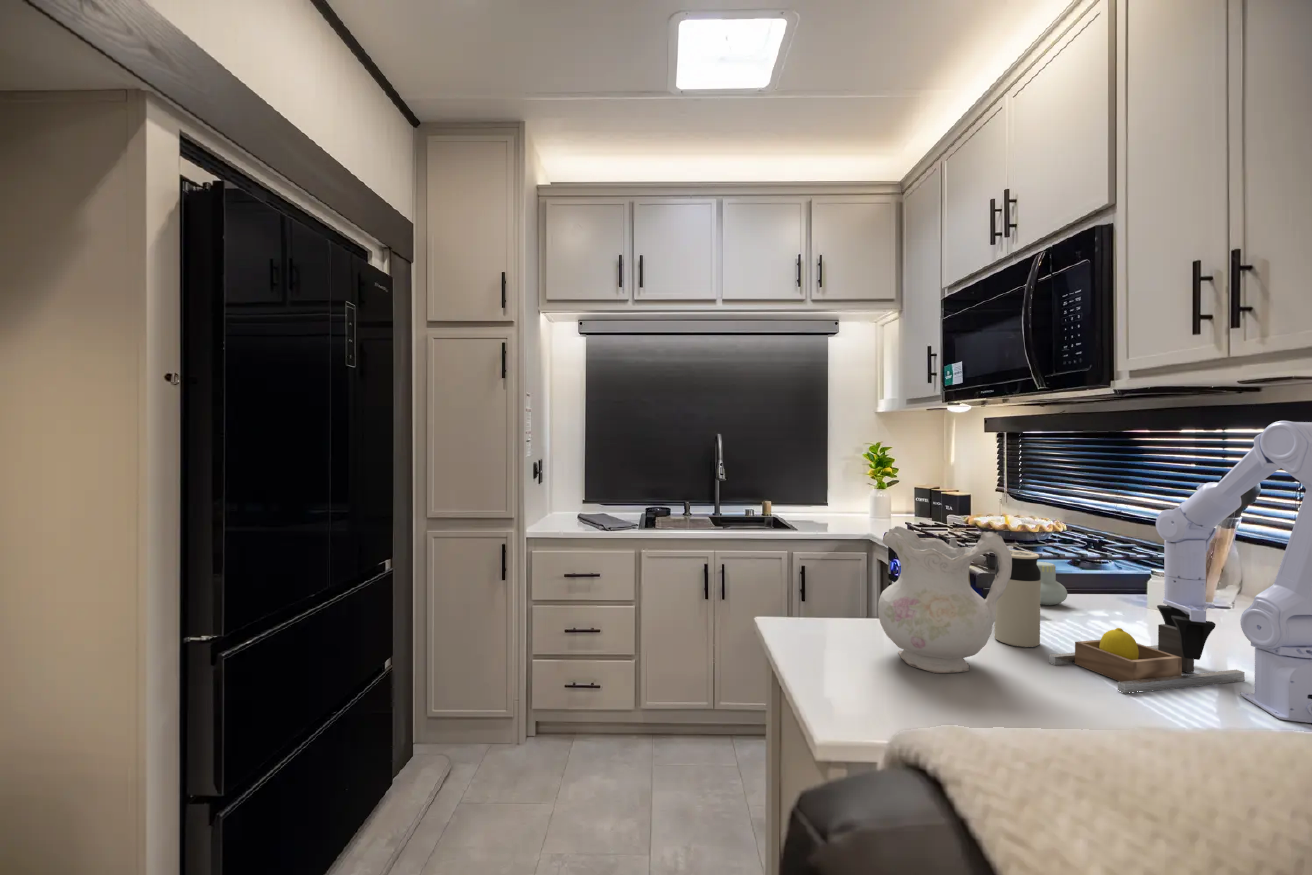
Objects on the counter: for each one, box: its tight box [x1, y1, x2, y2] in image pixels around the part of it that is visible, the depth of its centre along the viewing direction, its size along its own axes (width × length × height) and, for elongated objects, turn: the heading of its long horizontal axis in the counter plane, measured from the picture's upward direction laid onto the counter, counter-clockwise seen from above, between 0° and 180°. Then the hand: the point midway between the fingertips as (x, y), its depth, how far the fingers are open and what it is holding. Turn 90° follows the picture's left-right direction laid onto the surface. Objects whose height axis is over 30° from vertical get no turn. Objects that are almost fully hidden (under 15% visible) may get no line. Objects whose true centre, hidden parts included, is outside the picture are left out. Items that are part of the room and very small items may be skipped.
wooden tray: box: [1074, 623, 1195, 682], centre depth 109 cm, size 18×11×7 cm, turn 104°
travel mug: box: [994, 549, 1041, 648], centre depth 125 cm, size 8×8×18 cm
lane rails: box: [1048, 644, 1246, 694], centre depth 109 cm, size 26×14×2 cm, turn 104°
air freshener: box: [1037, 561, 1068, 606], centre depth 156 cm, size 11×8×10 cm
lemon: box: [1099, 627, 1139, 660], centre depth 108 cm, size 6×6×8 cm
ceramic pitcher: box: [877, 526, 1012, 674], centre depth 113 cm, size 22×20×25 cm
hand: (1184, 652), depth 111 cm, fingers open, 7 cm apart
